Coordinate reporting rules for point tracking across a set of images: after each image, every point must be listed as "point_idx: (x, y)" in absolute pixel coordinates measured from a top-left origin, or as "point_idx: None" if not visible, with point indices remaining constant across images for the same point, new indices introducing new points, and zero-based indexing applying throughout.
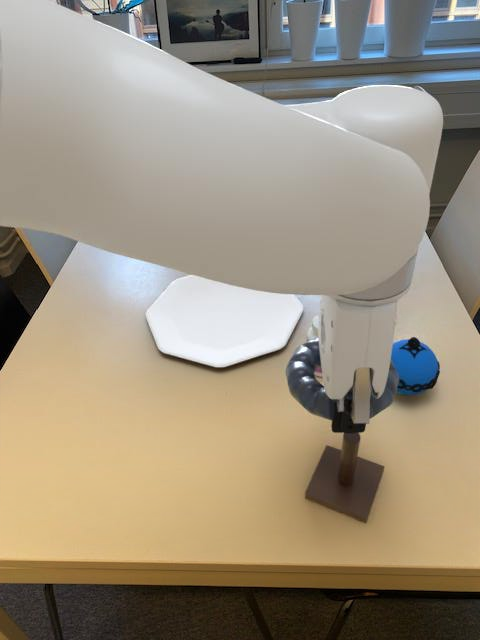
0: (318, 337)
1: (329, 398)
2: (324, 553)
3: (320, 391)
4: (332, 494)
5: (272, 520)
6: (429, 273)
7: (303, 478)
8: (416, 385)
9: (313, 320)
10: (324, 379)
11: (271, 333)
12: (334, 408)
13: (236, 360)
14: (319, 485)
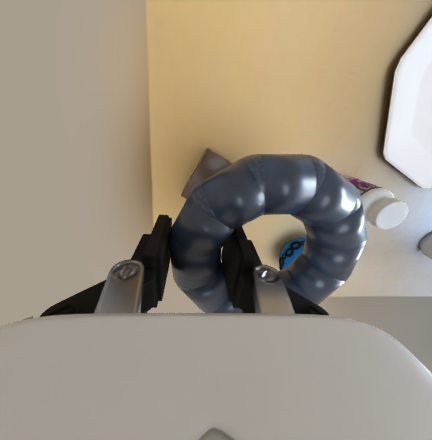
0: (338, 325)
1: (195, 236)
2: (157, 155)
3: (214, 224)
4: (203, 173)
5: (187, 111)
6: (391, 290)
7: (226, 150)
8: (283, 263)
9: (403, 203)
10: (34, 360)
11: (410, 145)
12: (144, 250)
13: (396, 91)
14: (213, 163)
